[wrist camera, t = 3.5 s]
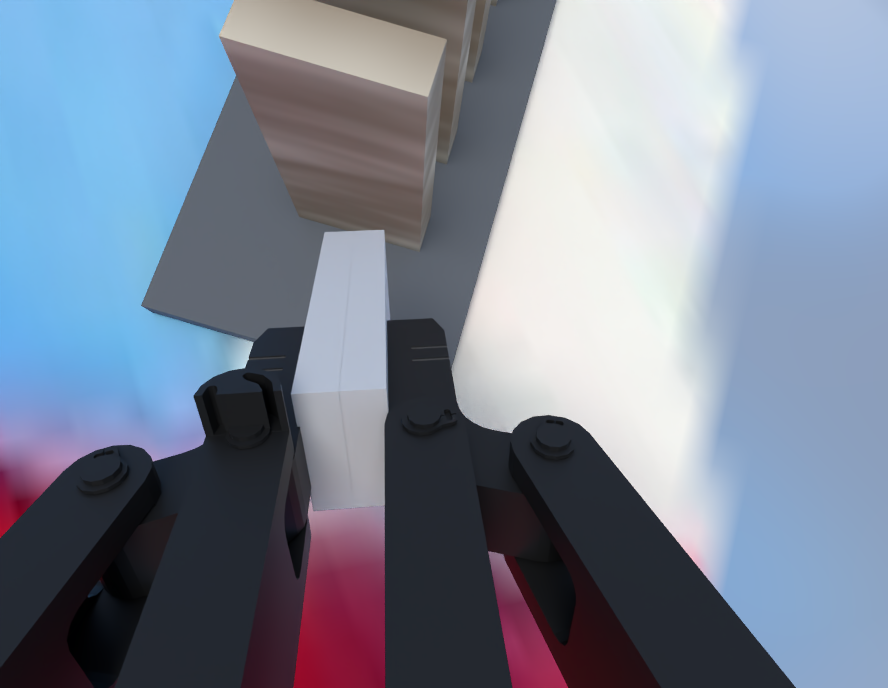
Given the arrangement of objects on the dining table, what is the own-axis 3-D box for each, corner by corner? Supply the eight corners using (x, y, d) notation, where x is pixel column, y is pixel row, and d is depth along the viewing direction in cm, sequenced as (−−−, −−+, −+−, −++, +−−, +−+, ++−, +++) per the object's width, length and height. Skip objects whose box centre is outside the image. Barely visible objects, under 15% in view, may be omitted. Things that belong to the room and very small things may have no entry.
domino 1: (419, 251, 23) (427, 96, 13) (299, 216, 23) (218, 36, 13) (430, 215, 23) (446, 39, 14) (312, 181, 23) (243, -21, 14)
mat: (442, 396, 23) (444, 393, 22) (152, 312, 23) (141, 305, 22) (604, -171, 29) (611, -193, 28) (376, -238, 29) (375, -262, 28)
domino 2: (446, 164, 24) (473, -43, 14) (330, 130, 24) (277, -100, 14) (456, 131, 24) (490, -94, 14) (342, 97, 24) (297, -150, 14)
